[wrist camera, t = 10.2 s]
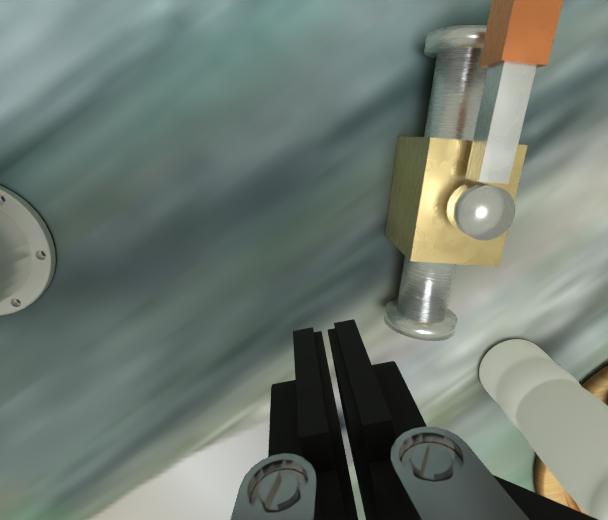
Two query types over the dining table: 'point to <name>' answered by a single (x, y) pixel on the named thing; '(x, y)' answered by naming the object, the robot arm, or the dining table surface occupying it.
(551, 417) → the water bottle
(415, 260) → the valve pipe
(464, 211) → the valve lever
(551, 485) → the wooden plate with food
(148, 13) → the dining table surface
